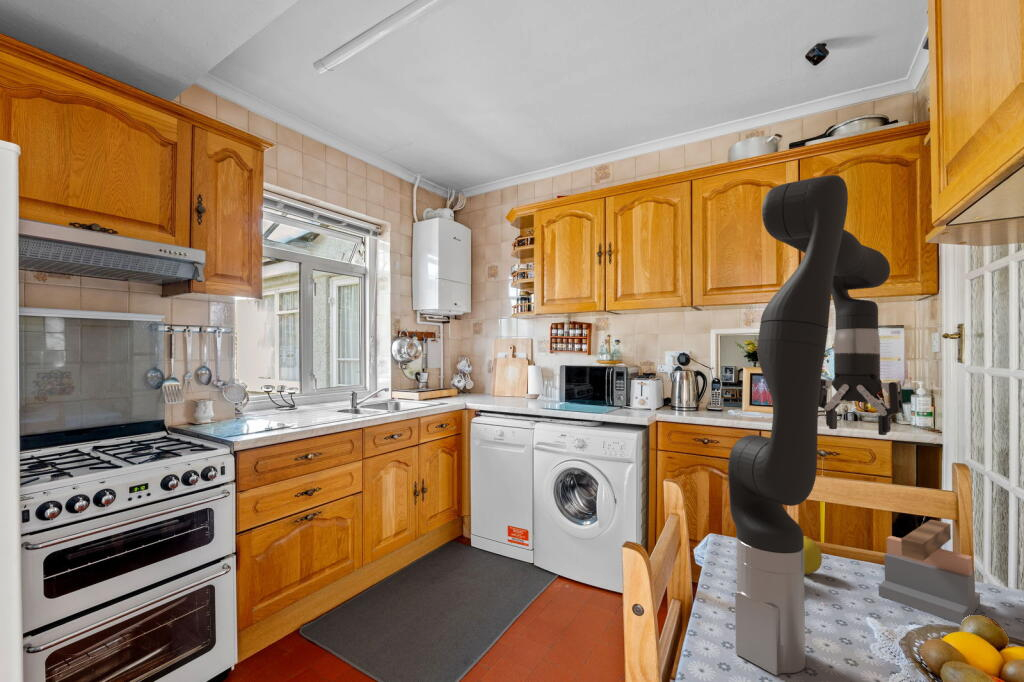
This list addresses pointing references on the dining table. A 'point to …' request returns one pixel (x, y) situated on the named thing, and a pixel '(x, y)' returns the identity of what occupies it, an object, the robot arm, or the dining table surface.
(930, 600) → the fulcrum stand
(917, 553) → the walnut stick
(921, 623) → the dining table surface
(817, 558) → the lemon
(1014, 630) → the dining table surface
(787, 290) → the robot arm
